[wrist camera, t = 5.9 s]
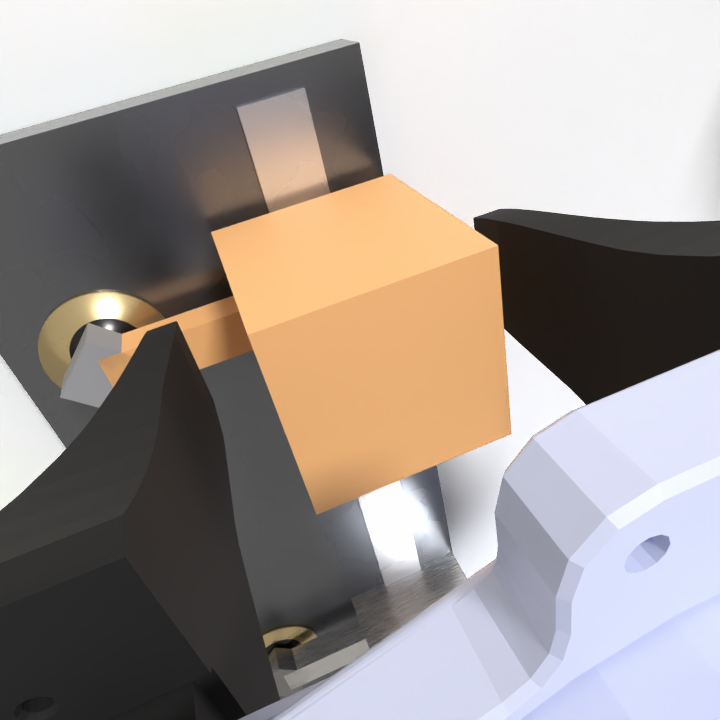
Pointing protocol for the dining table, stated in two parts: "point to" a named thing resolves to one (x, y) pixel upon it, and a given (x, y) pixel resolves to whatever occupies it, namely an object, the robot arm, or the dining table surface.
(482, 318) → the orange block with rod
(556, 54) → the dining table surface
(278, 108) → the bolt plate
